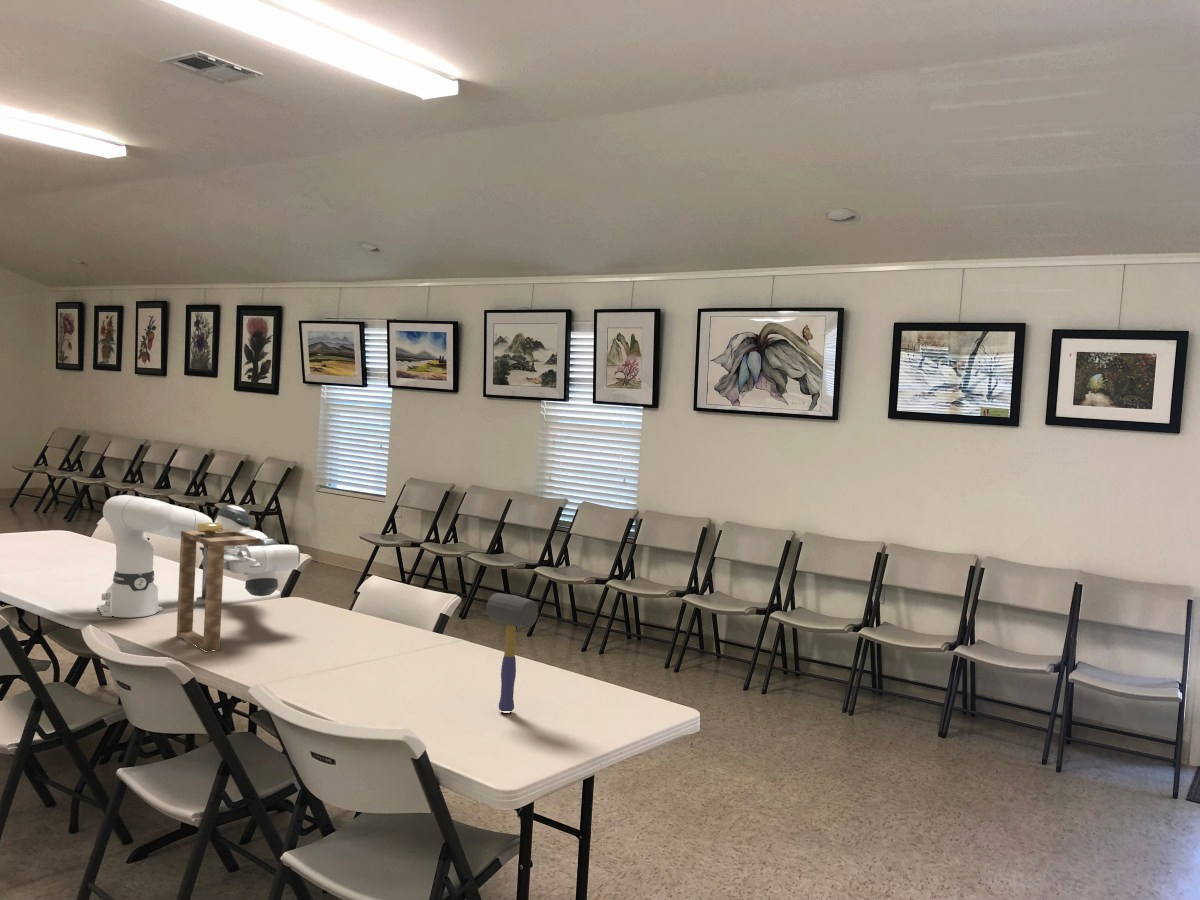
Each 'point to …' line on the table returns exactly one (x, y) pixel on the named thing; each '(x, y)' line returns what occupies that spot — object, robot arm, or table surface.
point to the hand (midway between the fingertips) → (205, 563)
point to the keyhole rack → (212, 584)
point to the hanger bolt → (209, 531)
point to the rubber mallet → (510, 636)
